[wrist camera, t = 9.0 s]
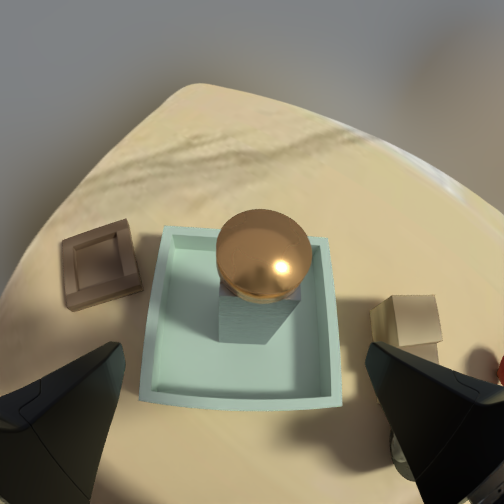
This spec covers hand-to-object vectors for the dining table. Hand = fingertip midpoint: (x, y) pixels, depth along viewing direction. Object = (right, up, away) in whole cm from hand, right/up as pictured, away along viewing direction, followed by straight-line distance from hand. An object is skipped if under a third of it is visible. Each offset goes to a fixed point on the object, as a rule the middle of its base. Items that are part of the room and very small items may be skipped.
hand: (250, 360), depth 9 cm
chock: (+13, -6, +13) cm, 19 cm away
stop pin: (-1, -2, +12) cm, 12 cm away
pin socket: (-14, +2, +14) cm, 19 cm away
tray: (-1, -2, +13) cm, 13 cm away
